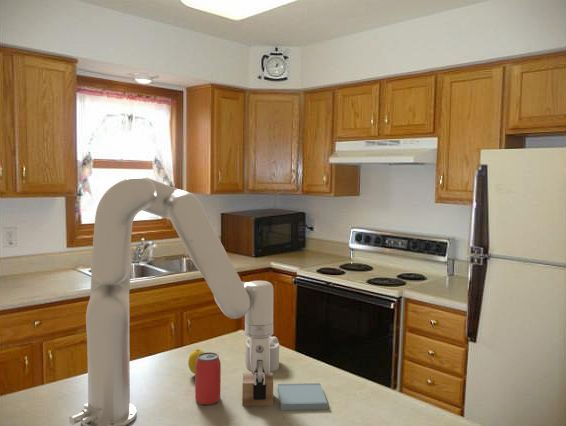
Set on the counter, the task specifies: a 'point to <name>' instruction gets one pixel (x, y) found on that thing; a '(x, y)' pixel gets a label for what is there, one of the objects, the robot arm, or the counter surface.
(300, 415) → the counter surface
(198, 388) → the beer can
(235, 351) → the counter surface
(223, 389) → the counter surface
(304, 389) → the plate
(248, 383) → the wooden block
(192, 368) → the lemon
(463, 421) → the counter surface
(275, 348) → the lumpy-topped squat cylinder
